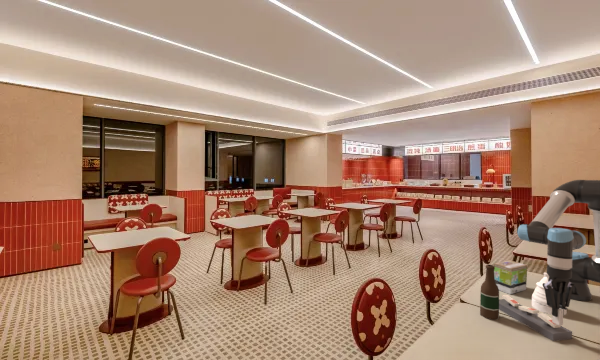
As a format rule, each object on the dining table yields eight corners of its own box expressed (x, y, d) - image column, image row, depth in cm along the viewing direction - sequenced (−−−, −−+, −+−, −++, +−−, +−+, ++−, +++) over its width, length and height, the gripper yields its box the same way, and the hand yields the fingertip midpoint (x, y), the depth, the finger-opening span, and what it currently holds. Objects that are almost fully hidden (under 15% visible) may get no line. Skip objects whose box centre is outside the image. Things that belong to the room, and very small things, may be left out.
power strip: (492, 305, 141) (493, 298, 140) (508, 304, 142) (508, 296, 142) (553, 341, 112) (553, 331, 112) (571, 338, 113) (572, 329, 113)
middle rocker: (518, 309, 130) (518, 306, 130) (524, 308, 130) (523, 305, 131) (533, 313, 123) (532, 310, 123) (539, 313, 124) (538, 309, 124)
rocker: (501, 296, 139) (502, 294, 139) (506, 296, 139) (507, 294, 139) (514, 306, 132) (514, 304, 132) (519, 306, 133) (520, 303, 132)
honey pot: (555, 317, 129) (556, 279, 128) (525, 305, 141) (526, 270, 141) (573, 313, 133) (574, 276, 133) (542, 300, 146) (543, 266, 145)
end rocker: (537, 316, 121) (538, 313, 121) (543, 315, 122) (544, 312, 121) (554, 327, 114) (554, 325, 114) (560, 327, 115) (561, 324, 115)
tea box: (511, 295, 152) (512, 268, 152) (492, 288, 161) (492, 262, 161) (527, 290, 159) (527, 264, 158) (507, 283, 168) (508, 259, 167)
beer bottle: (502, 321, 127) (504, 269, 126) (483, 319, 128) (484, 267, 127) (494, 312, 134) (495, 263, 133) (476, 310, 136) (477, 262, 135)
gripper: (562, 262, 118) (561, 317, 119) (536, 264, 116) (534, 320, 117) (583, 269, 111) (581, 327, 112) (555, 270, 109) (553, 330, 110)
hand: (557, 323), depth 114 cm, fingers closed
